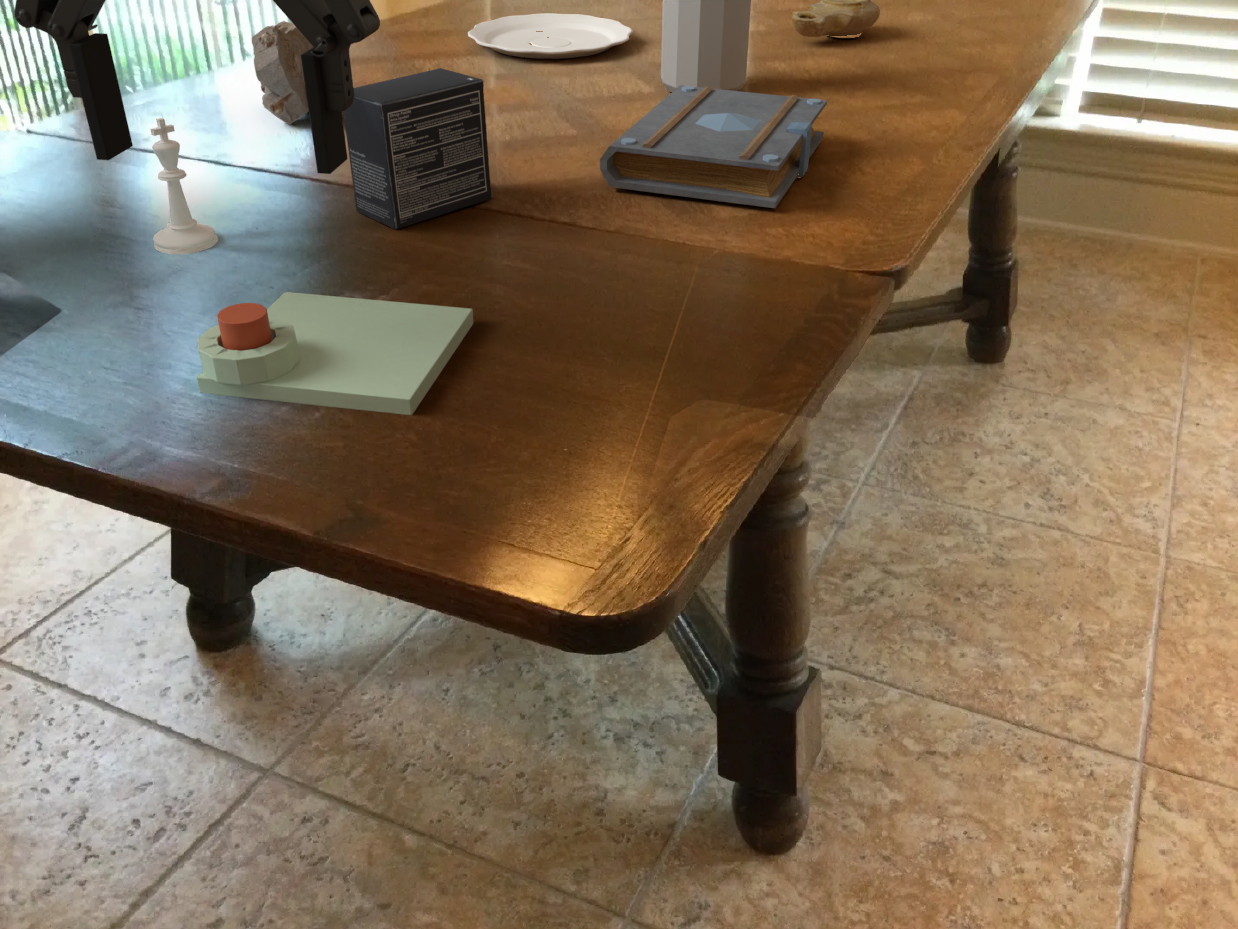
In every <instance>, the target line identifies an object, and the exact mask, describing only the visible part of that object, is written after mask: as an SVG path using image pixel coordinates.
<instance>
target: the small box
mask: <svg viewBox="0 0 1238 929" xmlns="http://www.w3.org/2000/svg"><path fill="white" fill-rule="evenodd" d="M484 86H485V83H484V79H482V78H478V77H475V76H471V75H468V74H464V73H460V72H456V71H453V70H449V69H445V68H442V67H439V68H434V69H431V70H427V71H422V72H418V73H413V74H409V75H404V76H399V77H396V78H391V79H387V80H382V81H377V82H374V83H370V84H365V85H361V86H356V87H353V88H354V100H353V103H352V105H351V106H350V107H349V108H347V109H346V110H345V111H343V112H342V115H343V122H344V130H345V137H346V142H347V150H348V151H347V152H348V158H349V166H350V173H351V180H352V186H353V195H354V202H355V211H356V212H358V213H360V214H362V215H364V216H366V217H368V218H370V219H371V220H375V221H376V222H378V223H380V224H383V225H384V226H387V227H390V228H391V229H394V230H400V229H403V228H405V227H410V226H412V225H414V224H419V223H421V222H424V221H427V220H430V219H433V218H436V217H440V216H443V215H446V214H449V213H452V212H455V211H458V210H462V209H465V208H467V207H472V206H474V205H478V204H480V203H484V202H486V201H490V200H492V199H493V191H492V185H491V173H490V160H489V147H488V133H487V121H486V120H487V119H486V107H485V106H486V104H485V92H484Z"/></svg>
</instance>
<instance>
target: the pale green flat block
mask: <svg viewBox="0 0 1238 929" xmlns="http://www.w3.org/2000/svg"><path fill="white" fill-rule="evenodd" d="M266 309H267V313H268V318H269V324H270V330H271V335H272V341H271V342H270V343H269V344H266V345H264V346H261V347H259V348H257V349H250V350H243V351H238V350H228V349H225V348H224V347H223V343H222V338H221V333H220V328H219V324H216V325H213V326H211V327H209V328H208V329H207V330H205V331H204V332H203V333H202V334H201V335H200V336H199V337H198V338H197V350H198V354H199V360H200V364H201V368H202V372H200V374H198V375H197V376H196V381H197V385H198V390H199V393H200V394H207V395H216V396H224V397H225V396H227V397H234V398H246V399H255V400H265V401H273V402H284V403H292V404H300V405H302V404H303V405H311V406H321V407H331V408H337V409H338V408H339V409H348V410H350V409H351V410H360V411H367V412H378V413H385V414H386V413H387V414H395V415H396V414H397V415H406V416H413V414H414V413H415V412H416V411H417V408H418V407H419V406H420V404H421V402H423V400H424V398H425V396H426V395H427V393H428V392H429V391H430V389H431V388H432V386H433V385H434V383H435V382H436V380H437V379H438V377H439V376H440V374H441V373H442V372H443V370H444V368H445V367H446V365H447V364H448V362H449V361H450V359H451V358H452V356H453V355H454V353H455V352H456V350H457V349H458V347H459V346H460V344H461V343H462V341H464V338H465V337H466V335H467V334H468V332H469V331H470V330H471V328H472V326H473V325H474V310H473V308H468V307H457V306H447V305H437V304H425V303H424V304H423V303H413V302H412V303H411V302H400V301H390V300H380V299H368V298H357V297H347V296H334V295H326V294H325V295H324V294H323V295H322V294H313V293H303V292H290V291H285V292H283V293H282V294H281V295H280V296H279V297H278V298H277V299H276V300H275V301H274V302H273V303H272V304H271V305H270V306H269V307H267V308H266Z"/></svg>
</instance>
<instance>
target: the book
mask: <svg viewBox="0 0 1238 929" xmlns="http://www.w3.org/2000/svg"><path fill="white" fill-rule="evenodd" d="M827 104H828V100H827V99H820V98H808V97H799V96H798V95H796V94H793V95H789V96H788V95H780V94H779V95H778V94H769V93H759V92H751V91H740V90H739V91H730V90H721V89H713V88H712V87H710V86H708V87H705V88H701V87H693V86H681V85H680V86H679V87H677V88H676V89H675V90H674V91H673V92H672V93H670V92H669V94H668V95H667V96H666V97H665V98H663V99H662V100H661V101H660V102H659V103H657V104H656V105H655V106H654V107H653V108H651V110H649V111H648V112H647V113H646V114H645V115H643V116H642V117H641V118H640V119H639V120H638V121H636V122H635V123H633V125H632V126H631V127H630V128H628V129H627V130H626V131H625V132H624V133H623V134H621V135H620V136H619V137H618V138H616V139H615V140H614V141H613V142H612V143H610V145H609V146H608V147H607V149H606V150H605V151H604V153H603V154H602V156H601V157H600V159H599V170H600V172H601V174H602V176H603V178H604V180H605V181H606V184H607V186H608V187H609V188H614V189H622V190H630V191H638V192H646V193H652V194H653V193H654V194H661V195H662V194H663V195H669V196H677V197H678V196H679V197H684V198H693V199H700V200H706V201H707V200H708V201H716V202H723V203H730V204H738V205H746V206H747V205H748V206H756V207H763V208H770V209H776V208H777V207H778V205H779V203H780V202H781V200H782V199H783V197H784V196H785V195H786V194H787V192H788V190H789V189H790V187H791V186H792V185H793V183H794V182H795V180H796V179H797V178H796V177H802V178H803V177H804V176H805V174H806V173H807V171H808V170H809V163H810V158H811V157H812V155H813V154H814V152H815V150H816V149H817V148H818V146H819V145H820V143H821V142H822V141H823V139H824V136H825V135H824V134H825V131H819V130H815V129H814V128H813V124H814V123H815V122H816V120H817V118H818V117H819V116H820V115H821V113H822V112H823V110H824V109H825V107H826V106H827ZM805 172H806V173H805ZM798 174H799V175H798Z"/></svg>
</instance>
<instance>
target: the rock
mask: <svg viewBox="0 0 1238 929" xmlns="http://www.w3.org/2000/svg"><path fill="white" fill-rule="evenodd" d="M251 45H252V46H253V55H254V58H253V67H254V71H255V76H256V79H257V81H258V82H259V83H260V90H261V92H262V93H264V94H262V96H261V100H262V102H261V103H262V106H263V108H264V109H266V110H267V111H268V112H270V113H271V114H272V115H273V116H274V117H277V118H278V119H279V120H280V121H282V122H284V123H285V124H286V125H291V124H293V123H294V122H295V121H297V120H299V119H300V118H301V117H302V116H304V115H306V114H307V113H309V109H308V102H307V95H306V88H305V81H304V74H303V67H302V61H301V55H302V54H303V53H305V52H307V51H308V50H310V49H312V48H313V46H312V44H311V43H310V42H309V41H308V40H307V39H306V38H305V36H304V35H303V34H302V33H301V32H300V31H299V30H298V29H297V27H296V26H295V25H294V24H293V23H292V22H288V21H286V20H283V21H279V22H278V23H277V24H276V25H275V24H274V25H267V26H265V27H264V28H262V29H261V30H259V32H257V33H256V34H254V35H253V36H252V37H251Z"/></svg>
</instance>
